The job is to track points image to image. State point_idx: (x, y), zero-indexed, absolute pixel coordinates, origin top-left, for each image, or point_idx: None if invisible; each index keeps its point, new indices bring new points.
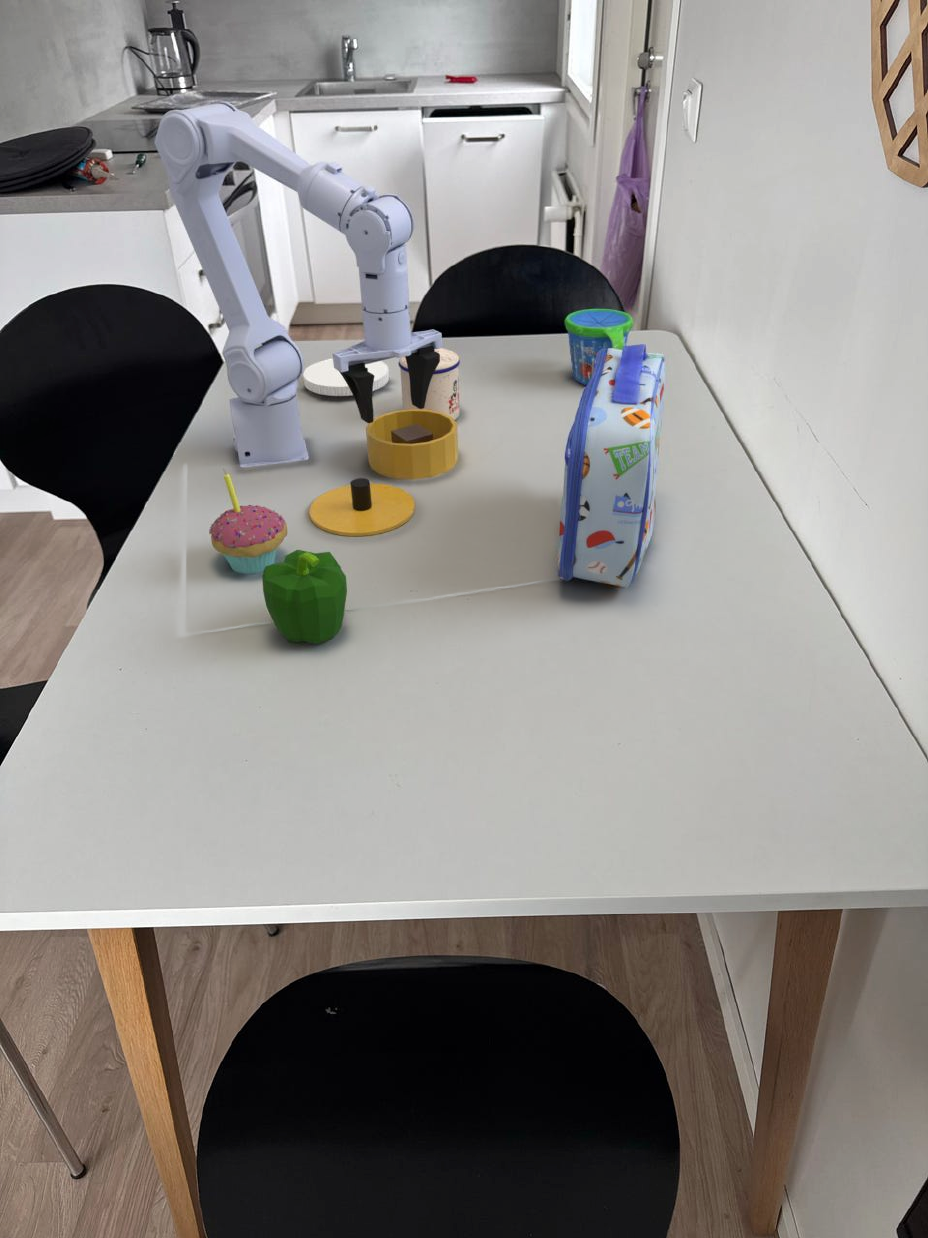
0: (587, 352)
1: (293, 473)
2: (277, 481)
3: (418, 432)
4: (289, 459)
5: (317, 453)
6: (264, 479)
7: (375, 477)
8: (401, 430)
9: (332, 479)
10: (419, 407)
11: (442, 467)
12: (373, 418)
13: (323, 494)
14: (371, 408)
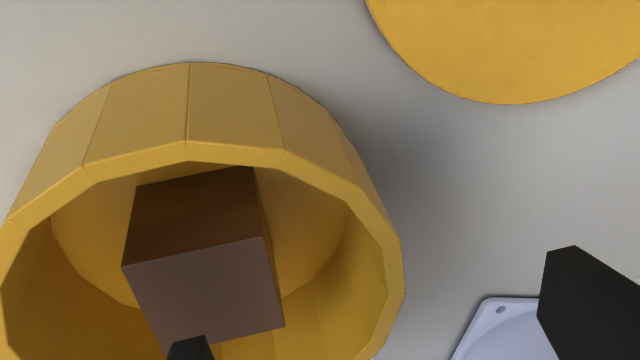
0: None
1: (545, 256)
2: (602, 229)
3: (183, 290)
4: (527, 312)
5: (437, 333)
6: (617, 248)
7: (368, 161)
8: (246, 320)
9: (484, 194)
10: (206, 347)
11: (126, 89)
12: (563, 264)
13: (610, 71)
14: (637, 309)
